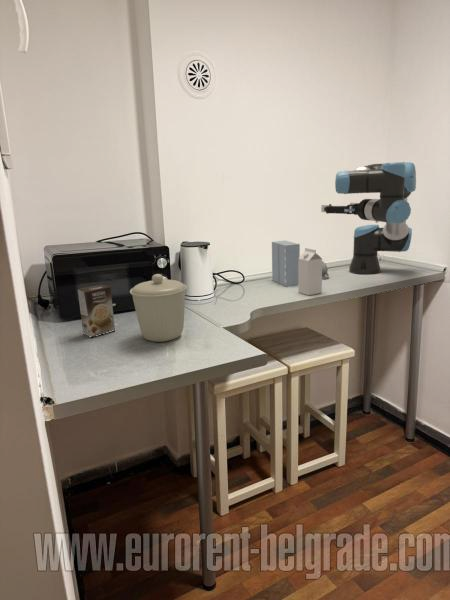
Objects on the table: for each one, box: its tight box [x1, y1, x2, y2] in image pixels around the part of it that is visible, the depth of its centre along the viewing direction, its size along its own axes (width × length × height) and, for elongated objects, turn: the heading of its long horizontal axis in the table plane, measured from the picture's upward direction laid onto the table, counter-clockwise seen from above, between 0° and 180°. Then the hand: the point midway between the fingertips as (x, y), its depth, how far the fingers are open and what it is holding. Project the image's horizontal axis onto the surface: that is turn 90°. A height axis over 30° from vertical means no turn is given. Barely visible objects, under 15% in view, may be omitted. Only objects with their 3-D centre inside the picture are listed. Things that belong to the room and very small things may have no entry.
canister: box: [129, 273, 188, 343], centre depth 139 cm, size 18×18×21 cm
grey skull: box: [322, 260, 330, 280], centre depth 211 cm, size 11×8×8 cm
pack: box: [271, 240, 301, 288], centre depth 203 cm, size 7×14×19 cm, turn 21°
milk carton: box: [297, 248, 323, 296], centre depth 183 cm, size 7×7×19 cm
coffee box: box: [77, 284, 116, 337], centre depth 146 cm, size 9×6×16 cm
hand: (336, 207), depth 173 cm, fingers open, 13 cm apart
